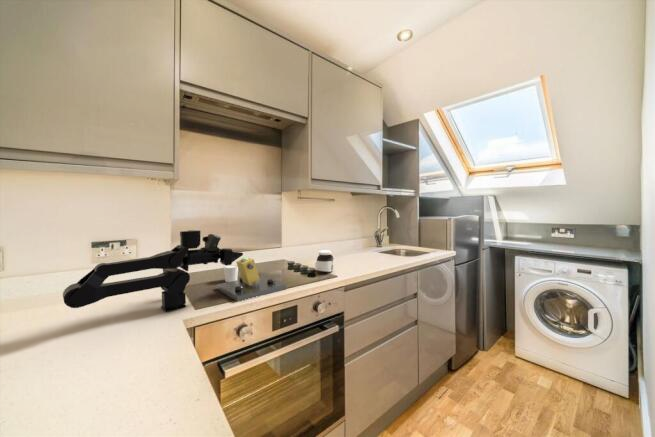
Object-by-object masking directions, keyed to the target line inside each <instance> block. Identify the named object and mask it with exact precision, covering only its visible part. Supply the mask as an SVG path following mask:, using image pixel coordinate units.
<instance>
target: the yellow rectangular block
mask: <svg viewBox="0 0 655 437" xmlns="http://www.w3.org/2000/svg"><path fill="white" fill-rule="evenodd" d="M235 263H236V265H237V266H238V273H239V275H240V277H241V278H242V281H243V282H244V283H246V284H248V285H252V284H254V281H258V280H260V278H259V276H260V275H259V272H258V270H257V265H256V263H255V259H254V258H250V257H247V256H246V257H243V258H241V259H239V260H237V261H236V262H235Z"/></svg>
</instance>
